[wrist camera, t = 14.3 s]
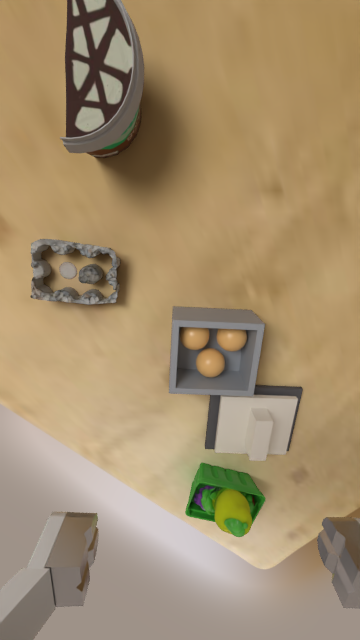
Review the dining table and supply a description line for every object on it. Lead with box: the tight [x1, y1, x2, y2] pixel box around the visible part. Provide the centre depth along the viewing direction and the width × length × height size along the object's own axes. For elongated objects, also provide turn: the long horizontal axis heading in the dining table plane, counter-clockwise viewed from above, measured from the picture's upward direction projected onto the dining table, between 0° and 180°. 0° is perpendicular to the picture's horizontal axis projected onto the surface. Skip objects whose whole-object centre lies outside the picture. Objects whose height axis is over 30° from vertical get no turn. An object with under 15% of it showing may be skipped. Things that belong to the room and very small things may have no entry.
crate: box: [169, 306, 265, 396], centre depth 36 cm, size 11×10×6 cm
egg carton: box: [31, 239, 120, 304], centre depth 34 cm, size 11×8×4 cm
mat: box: [205, 385, 303, 451], centre depth 43 cm, size 14×12×1 cm
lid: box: [214, 395, 298, 461], centre depth 41 cm, size 11×10×5 cm
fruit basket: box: [185, 463, 265, 537], centre depth 42 cm, size 11×9×11 cm
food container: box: [60, 0, 144, 158], centre depth 25 cm, size 12×6×10 cm, turn 172°
